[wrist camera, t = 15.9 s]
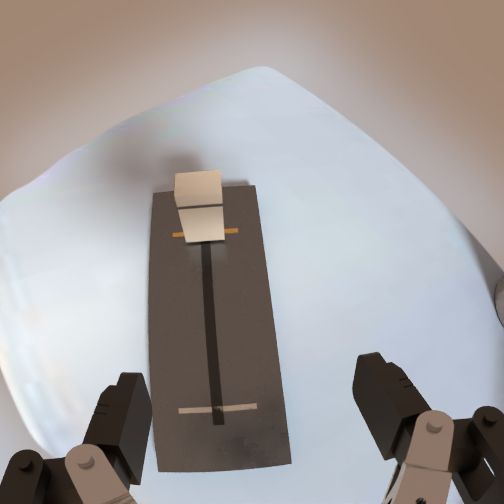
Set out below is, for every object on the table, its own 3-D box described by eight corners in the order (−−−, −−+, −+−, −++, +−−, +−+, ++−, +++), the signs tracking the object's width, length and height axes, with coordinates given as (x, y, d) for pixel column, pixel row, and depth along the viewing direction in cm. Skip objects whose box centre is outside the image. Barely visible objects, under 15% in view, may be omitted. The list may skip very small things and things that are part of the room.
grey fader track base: (288, 460, 26) (291, 463, 24) (163, 468, 25) (158, 472, 23) (254, 195, 40) (255, 184, 38) (156, 202, 39) (153, 192, 37)
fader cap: (224, 239, 34) (222, 192, 27) (186, 242, 33) (173, 196, 26) (223, 219, 35) (220, 169, 28) (185, 222, 35) (174, 173, 28)
